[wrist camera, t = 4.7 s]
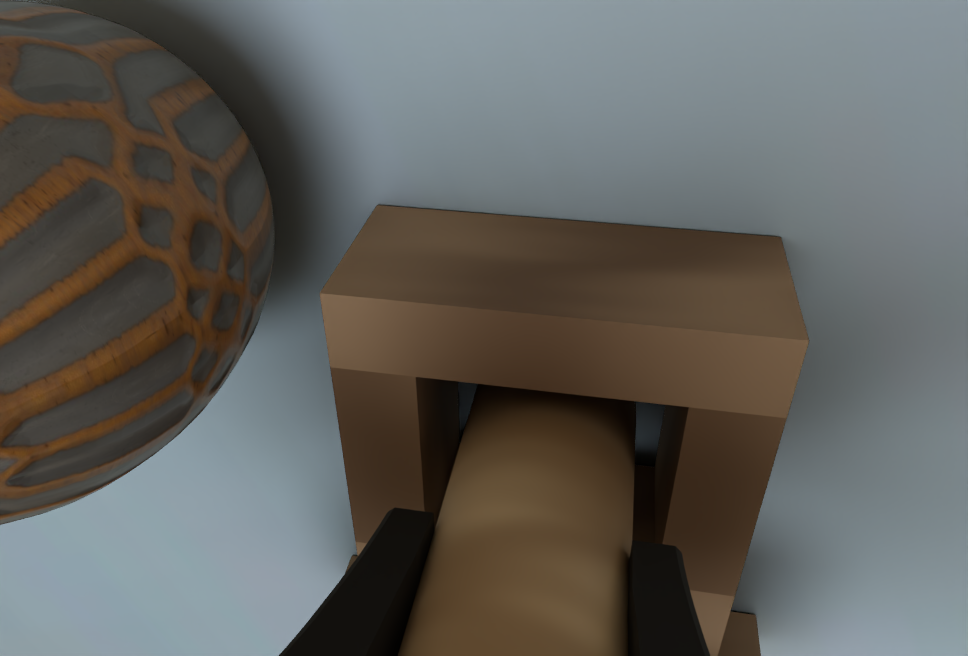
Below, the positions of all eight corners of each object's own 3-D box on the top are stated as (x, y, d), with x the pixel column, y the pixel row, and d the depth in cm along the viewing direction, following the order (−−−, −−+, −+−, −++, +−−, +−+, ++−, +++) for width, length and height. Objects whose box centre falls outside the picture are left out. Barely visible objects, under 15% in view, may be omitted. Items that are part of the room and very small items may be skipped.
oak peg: (647, 356, 13) (638, 884, 7) (624, 479, 15) (602, 994, 9) (476, 335, 14) (319, 815, 7) (473, 457, 16) (345, 934, 9)
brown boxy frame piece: (875, 244, 13) (1039, 589, 7) (748, 639, 19) (785, 984, 14) (298, 199, 14) (77, 458, 9) (355, 579, 21) (247, 870, 15)
